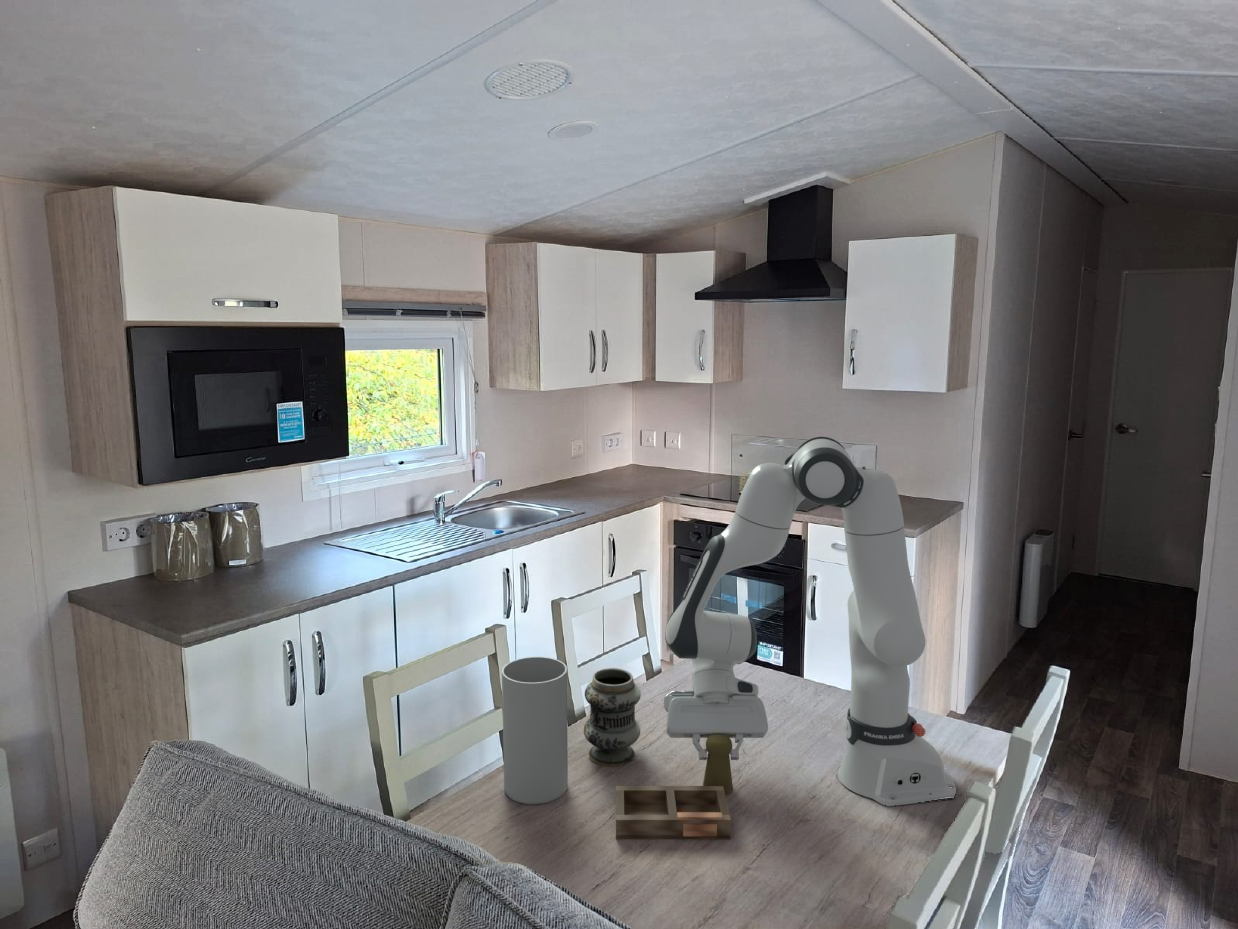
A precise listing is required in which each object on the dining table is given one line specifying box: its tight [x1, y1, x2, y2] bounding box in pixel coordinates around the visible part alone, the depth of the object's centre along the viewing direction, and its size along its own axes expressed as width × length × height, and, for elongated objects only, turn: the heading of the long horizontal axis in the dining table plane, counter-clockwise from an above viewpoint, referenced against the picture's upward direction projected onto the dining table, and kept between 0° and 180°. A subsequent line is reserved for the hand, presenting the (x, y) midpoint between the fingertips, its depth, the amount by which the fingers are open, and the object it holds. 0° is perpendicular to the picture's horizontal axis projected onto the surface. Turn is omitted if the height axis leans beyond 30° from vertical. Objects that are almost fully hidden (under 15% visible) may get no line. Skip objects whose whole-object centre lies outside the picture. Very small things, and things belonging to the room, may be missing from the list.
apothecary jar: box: [583, 667, 642, 767], centre depth 180 cm, size 12×12×18 cm
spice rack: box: [615, 785, 732, 840], centre depth 157 cm, size 20×11×4 cm, turn 90°
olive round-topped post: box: [702, 734, 734, 797], centre depth 168 cm, size 6×6×11 cm
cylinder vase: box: [501, 656, 569, 805], centre depth 166 cm, size 12×12×25 cm
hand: (719, 759), depth 167 cm, fingers closed on olive round-topped post, 5 cm apart
